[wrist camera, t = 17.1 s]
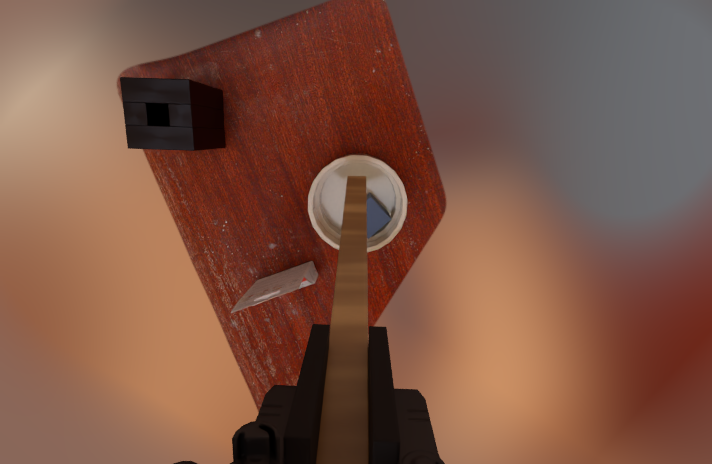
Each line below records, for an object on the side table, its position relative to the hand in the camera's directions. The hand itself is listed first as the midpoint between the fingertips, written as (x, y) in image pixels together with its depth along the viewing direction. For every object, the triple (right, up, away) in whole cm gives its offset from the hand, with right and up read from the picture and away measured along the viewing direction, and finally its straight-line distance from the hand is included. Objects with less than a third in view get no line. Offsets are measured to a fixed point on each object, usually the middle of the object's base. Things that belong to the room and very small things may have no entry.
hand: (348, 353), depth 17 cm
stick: (0, +10, +19) cm, 22 cm away
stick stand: (-21, +21, +34) cm, 45 cm away
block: (+2, +8, +36) cm, 37 cm away
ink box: (-10, -1, +39) cm, 40 cm away
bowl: (+1, +10, +36) cm, 37 cm away
